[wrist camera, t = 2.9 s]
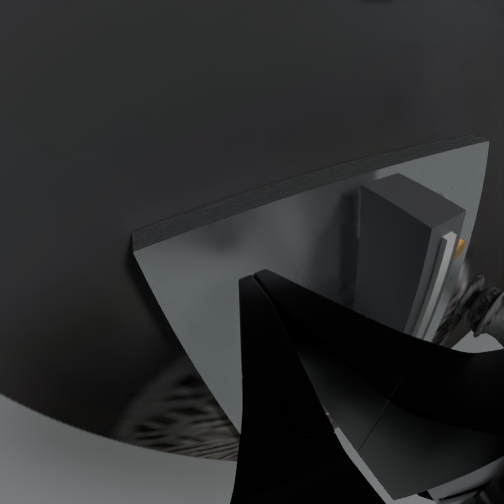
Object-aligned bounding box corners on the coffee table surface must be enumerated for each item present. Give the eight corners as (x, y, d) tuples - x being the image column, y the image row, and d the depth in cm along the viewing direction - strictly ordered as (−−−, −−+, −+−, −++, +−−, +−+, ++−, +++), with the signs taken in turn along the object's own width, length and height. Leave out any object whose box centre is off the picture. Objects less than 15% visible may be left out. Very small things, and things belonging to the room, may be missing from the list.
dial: (392, 348, 19) (424, 385, 16) (293, 403, 17) (321, 450, 14) (434, 154, 10) (507, 190, 7) (264, 204, 9) (341, 282, 6)
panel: (418, 344, 24) (426, 353, 23) (246, 437, 21) (252, 451, 20) (473, 134, 12) (492, 142, 11) (131, 232, 9) (133, 256, 8)
